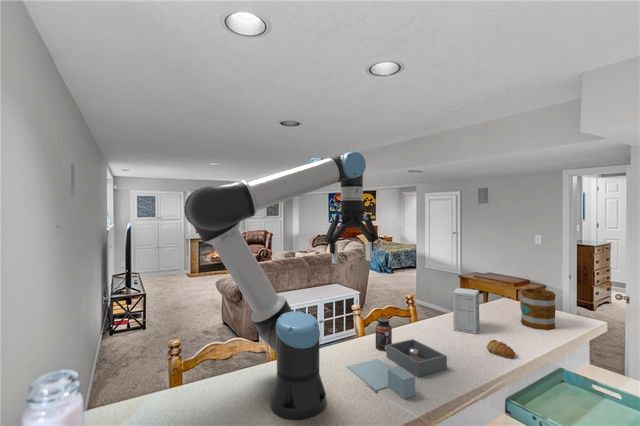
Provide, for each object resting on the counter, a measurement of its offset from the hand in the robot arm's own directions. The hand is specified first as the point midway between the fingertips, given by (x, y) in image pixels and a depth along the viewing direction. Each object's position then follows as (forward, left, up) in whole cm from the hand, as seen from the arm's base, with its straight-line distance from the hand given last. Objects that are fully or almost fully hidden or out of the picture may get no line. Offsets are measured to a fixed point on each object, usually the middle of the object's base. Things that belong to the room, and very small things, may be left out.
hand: (352, 262), depth 117 cm
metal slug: (+20, -8, -34) cm, 40 cm away
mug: (+95, -3, -35) cm, 101 cm away
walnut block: (+16, -15, -34) cm, 40 cm away
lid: (+2, -15, -35) cm, 38 cm away
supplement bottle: (+16, +4, -35) cm, 39 cm away
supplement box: (+61, +5, -35) cm, 71 cm away
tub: (+18, -11, -35) cm, 41 cm away
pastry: (+52, -18, -35) cm, 66 cm away
